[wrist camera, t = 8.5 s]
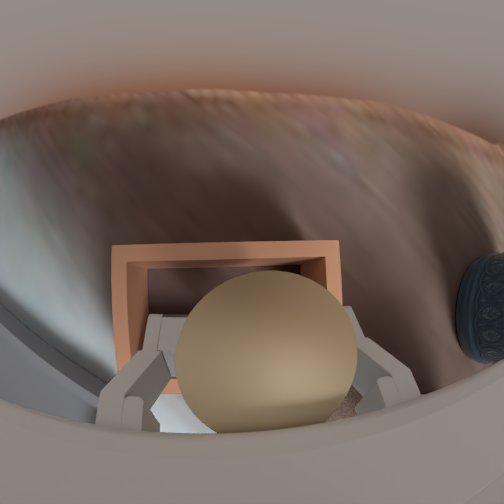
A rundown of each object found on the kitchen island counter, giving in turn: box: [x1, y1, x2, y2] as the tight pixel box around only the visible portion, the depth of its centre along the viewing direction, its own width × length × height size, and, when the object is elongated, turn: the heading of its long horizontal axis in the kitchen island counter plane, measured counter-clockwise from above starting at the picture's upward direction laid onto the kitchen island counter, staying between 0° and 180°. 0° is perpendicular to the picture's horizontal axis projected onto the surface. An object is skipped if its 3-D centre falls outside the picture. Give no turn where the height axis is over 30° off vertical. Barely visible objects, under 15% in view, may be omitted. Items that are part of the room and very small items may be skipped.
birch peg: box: [175, 271, 357, 433], centre depth 11 cm, size 4×4×10 cm
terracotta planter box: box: [111, 240, 342, 394], centre depth 19 cm, size 9×14×6 cm, turn 92°
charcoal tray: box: [0, 304, 107, 424], centre depth 16 cm, size 18×18×3 cm
